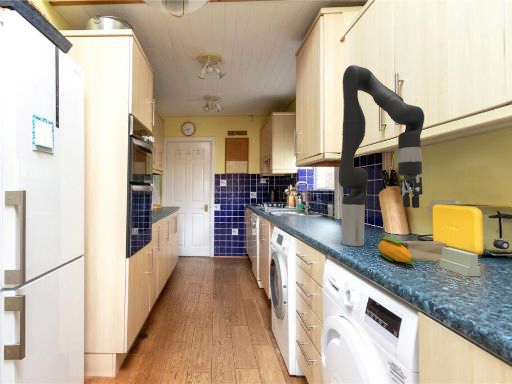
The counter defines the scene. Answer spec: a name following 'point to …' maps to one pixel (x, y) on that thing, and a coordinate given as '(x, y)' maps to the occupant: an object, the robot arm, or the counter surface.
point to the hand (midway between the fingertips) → (410, 207)
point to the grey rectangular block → (460, 262)
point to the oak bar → (425, 250)
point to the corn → (395, 250)
